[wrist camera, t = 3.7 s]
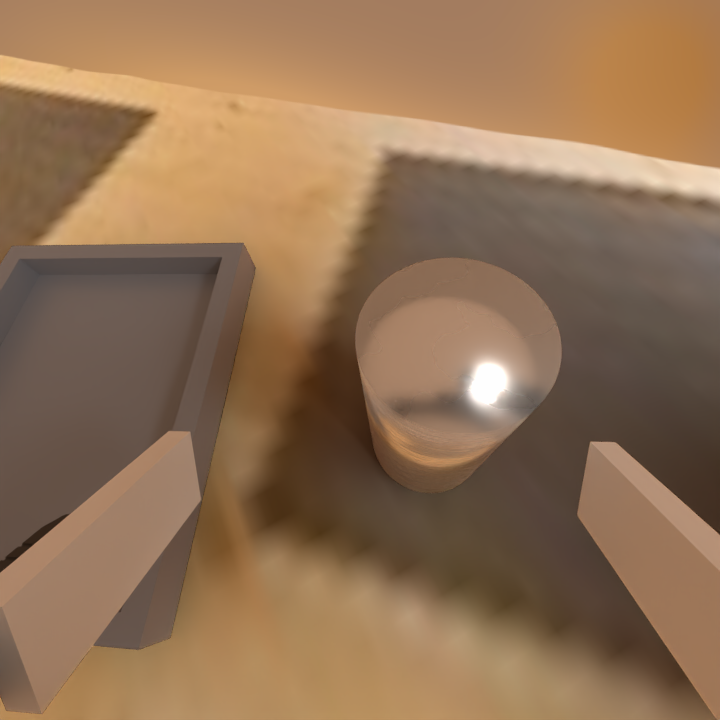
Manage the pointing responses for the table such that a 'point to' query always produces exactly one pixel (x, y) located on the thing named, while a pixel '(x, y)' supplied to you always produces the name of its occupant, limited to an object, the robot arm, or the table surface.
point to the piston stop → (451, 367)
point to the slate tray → (113, 386)
